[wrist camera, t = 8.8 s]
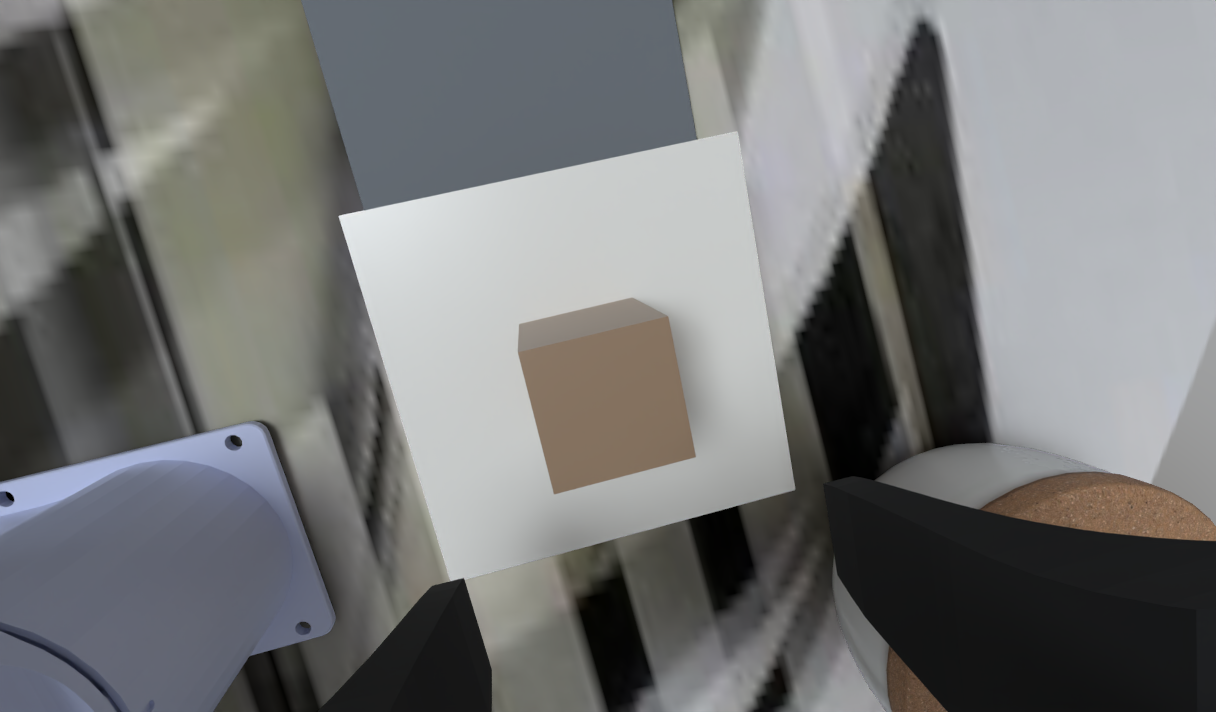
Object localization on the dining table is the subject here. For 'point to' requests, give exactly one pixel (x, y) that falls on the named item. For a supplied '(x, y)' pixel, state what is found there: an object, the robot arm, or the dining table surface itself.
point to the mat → (496, 87)
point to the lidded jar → (1019, 491)
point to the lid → (577, 351)
